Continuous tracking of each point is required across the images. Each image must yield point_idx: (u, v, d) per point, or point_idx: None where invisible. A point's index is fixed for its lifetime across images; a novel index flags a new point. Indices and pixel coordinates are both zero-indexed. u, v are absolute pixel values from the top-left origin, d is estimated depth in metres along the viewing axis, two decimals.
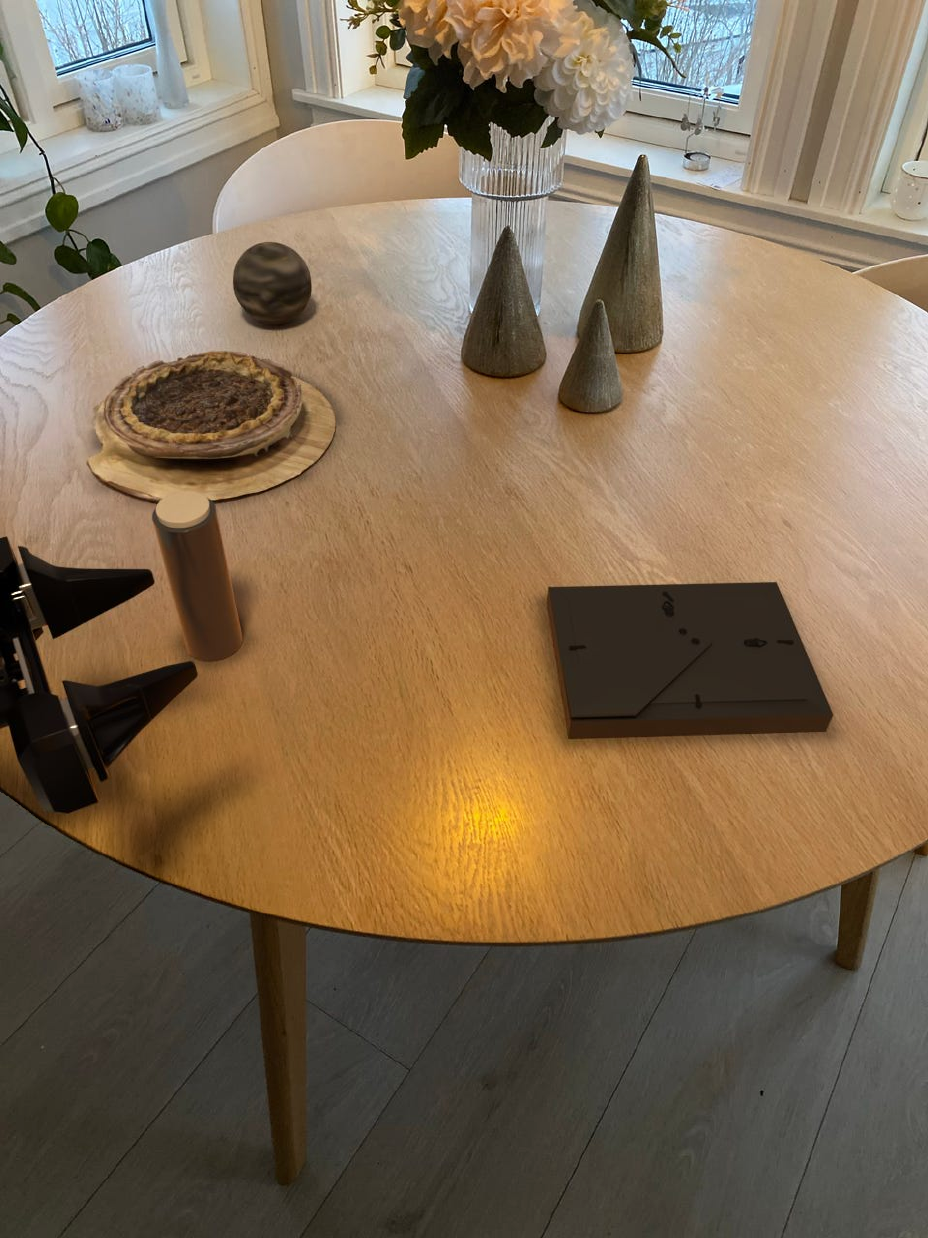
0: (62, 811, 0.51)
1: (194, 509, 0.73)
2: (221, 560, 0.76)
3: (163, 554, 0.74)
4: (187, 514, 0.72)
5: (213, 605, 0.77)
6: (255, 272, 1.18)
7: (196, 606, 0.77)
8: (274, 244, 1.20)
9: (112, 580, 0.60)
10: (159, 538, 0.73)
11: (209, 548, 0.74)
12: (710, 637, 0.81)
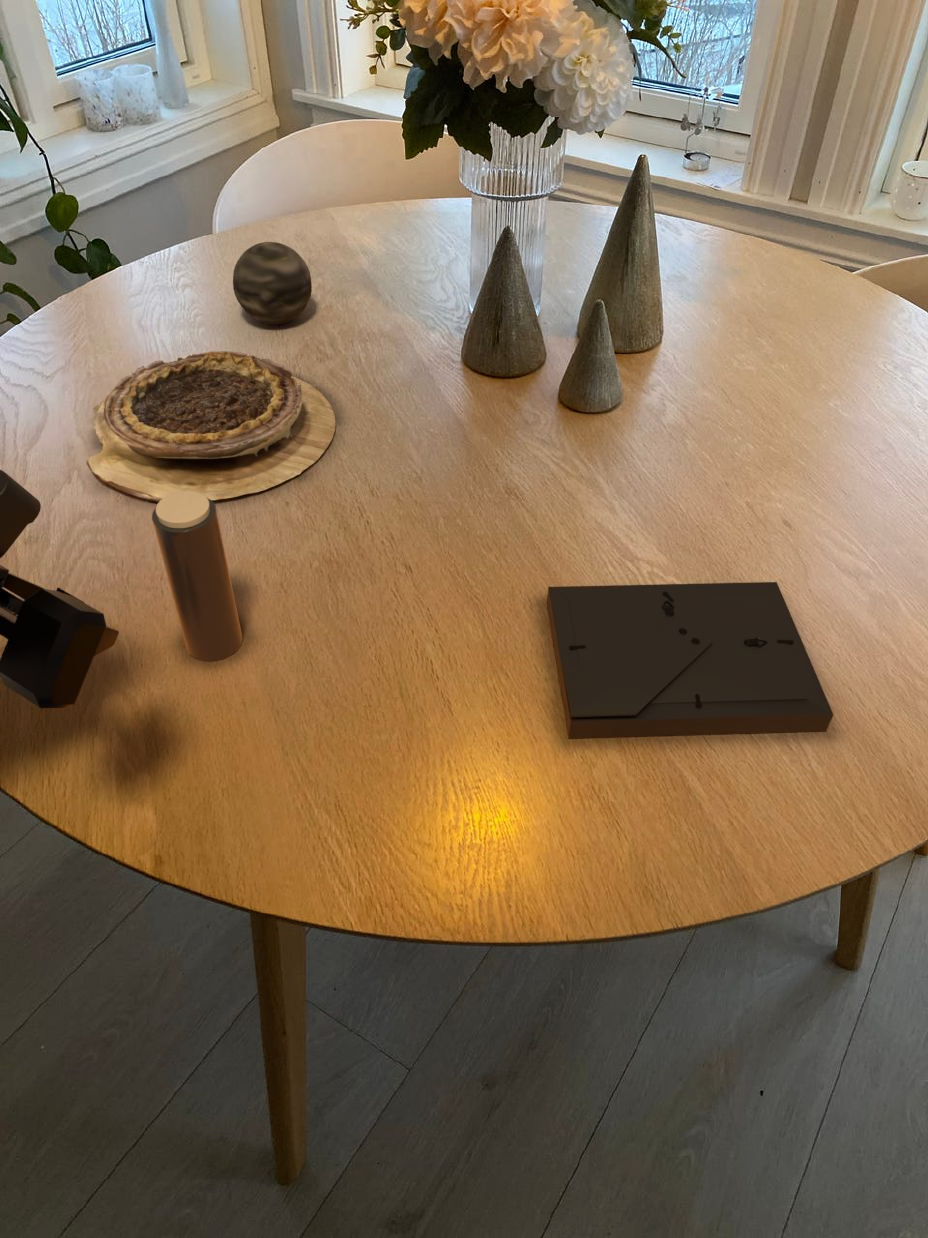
0: (52, 698, 0.55)
1: (194, 509, 0.73)
2: (221, 560, 0.76)
3: (163, 554, 0.74)
4: (187, 514, 0.72)
5: (213, 605, 0.77)
6: (255, 272, 1.18)
7: (196, 606, 0.77)
8: (274, 244, 1.20)
9: (20, 582, 0.66)
10: (159, 538, 0.73)
11: (209, 548, 0.74)
12: (710, 637, 0.81)
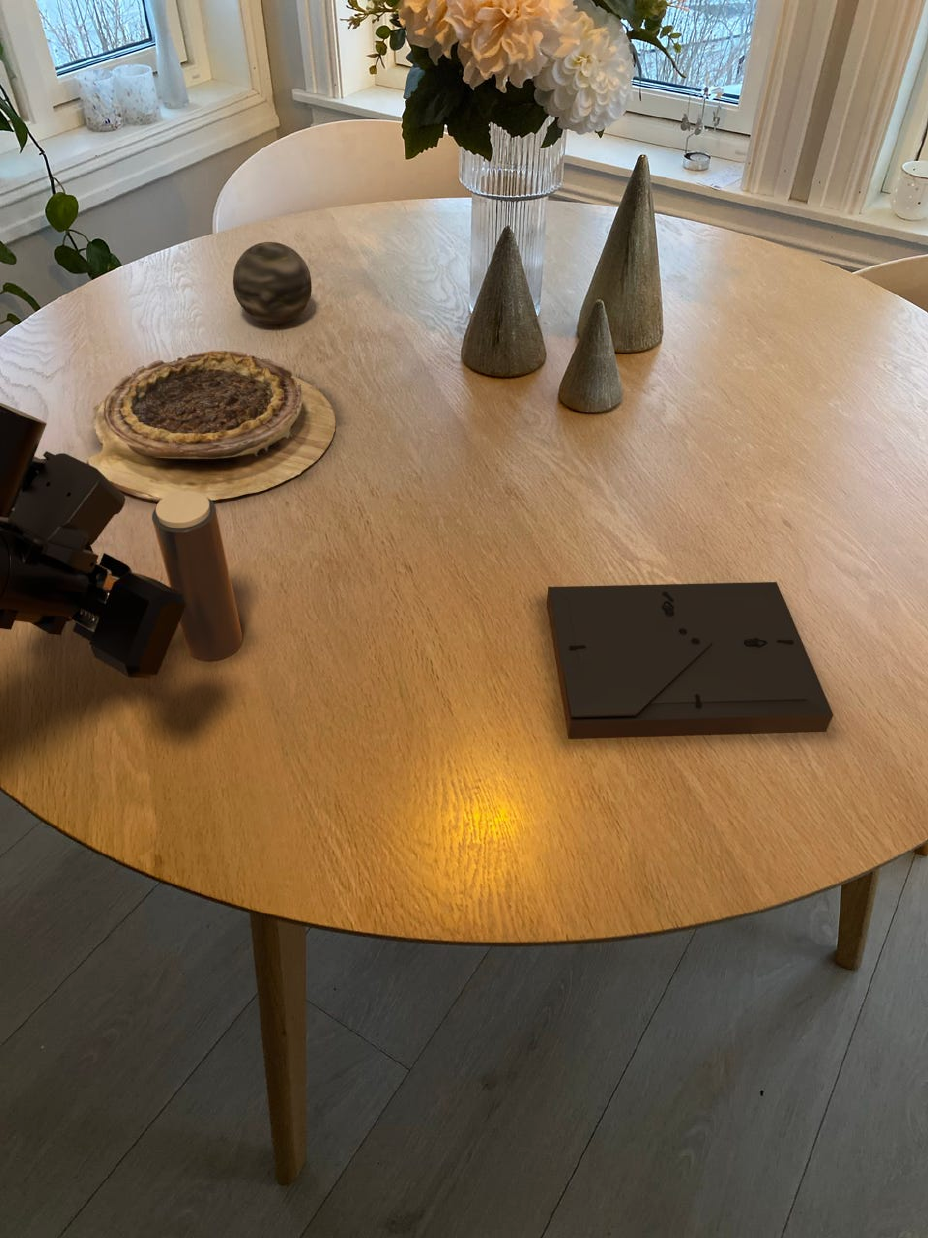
0: (140, 668, 0.62)
1: (194, 509, 0.73)
2: (221, 560, 0.76)
3: (163, 554, 0.74)
4: (187, 514, 0.72)
5: (213, 605, 0.77)
6: (255, 272, 1.18)
7: (196, 606, 0.77)
8: (274, 244, 1.20)
9: None
10: (159, 538, 0.73)
11: (209, 548, 0.74)
12: (710, 637, 0.81)
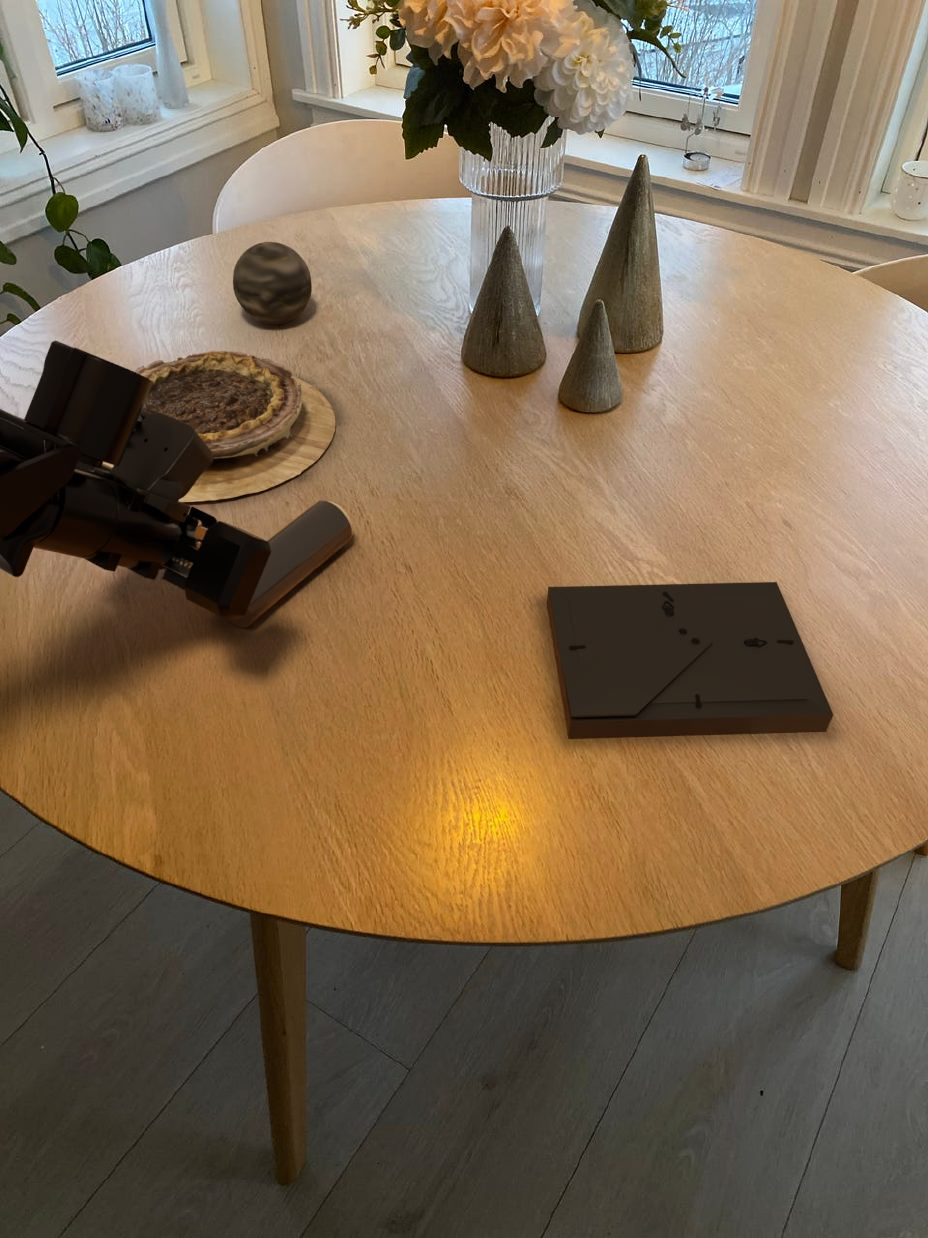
0: (231, 608, 0.68)
1: None
2: (323, 559, 0.88)
3: (304, 516, 0.88)
4: None
5: (294, 567, 0.85)
6: (255, 272, 1.18)
7: (287, 553, 0.85)
8: (274, 244, 1.20)
9: None
10: (316, 507, 0.89)
11: (336, 541, 0.89)
12: (710, 637, 0.81)
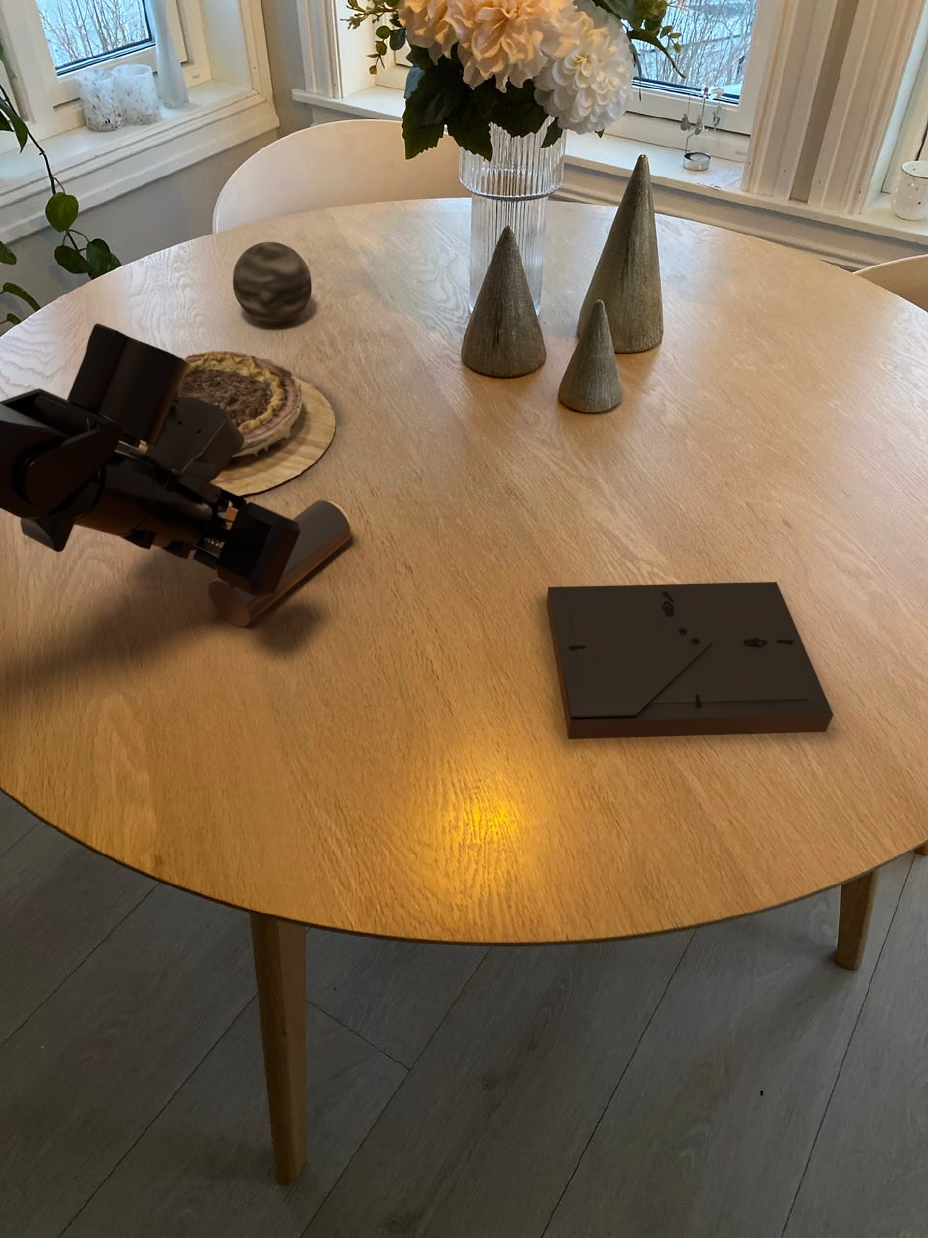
0: (262, 586, 0.70)
1: None
2: (322, 557, 0.88)
3: (302, 515, 0.89)
4: None
5: (292, 564, 0.85)
6: (255, 272, 1.18)
7: None
8: (274, 244, 1.20)
9: None
10: (313, 506, 0.90)
11: (335, 538, 0.89)
12: (710, 637, 0.81)
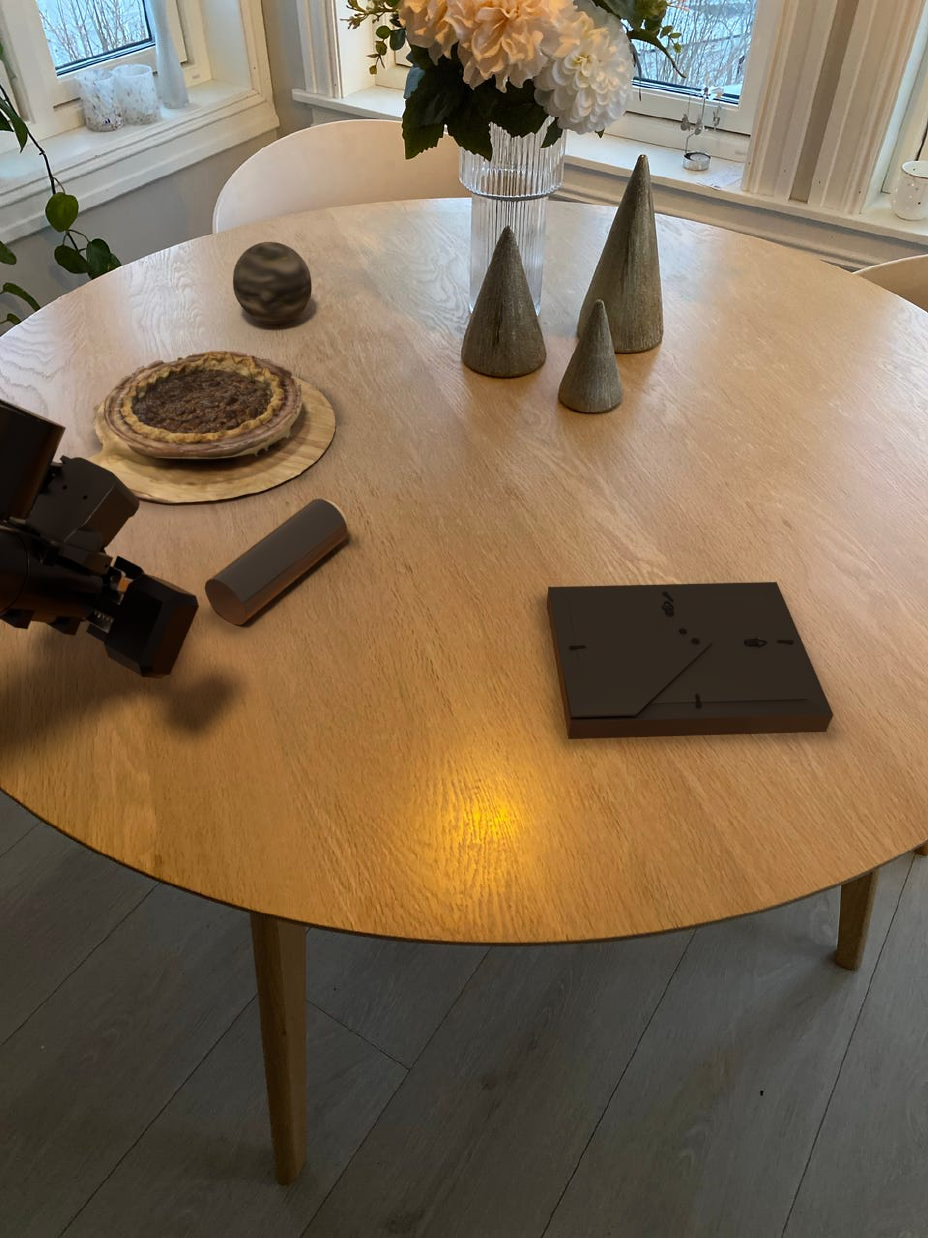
0: (153, 668, 0.63)
1: None
2: (319, 553, 0.88)
3: (296, 513, 0.89)
4: None
5: (286, 559, 0.85)
6: (255, 272, 1.18)
7: (278, 546, 0.85)
8: (274, 244, 1.20)
9: None
10: (307, 505, 0.90)
11: (330, 533, 0.89)
12: (710, 637, 0.81)
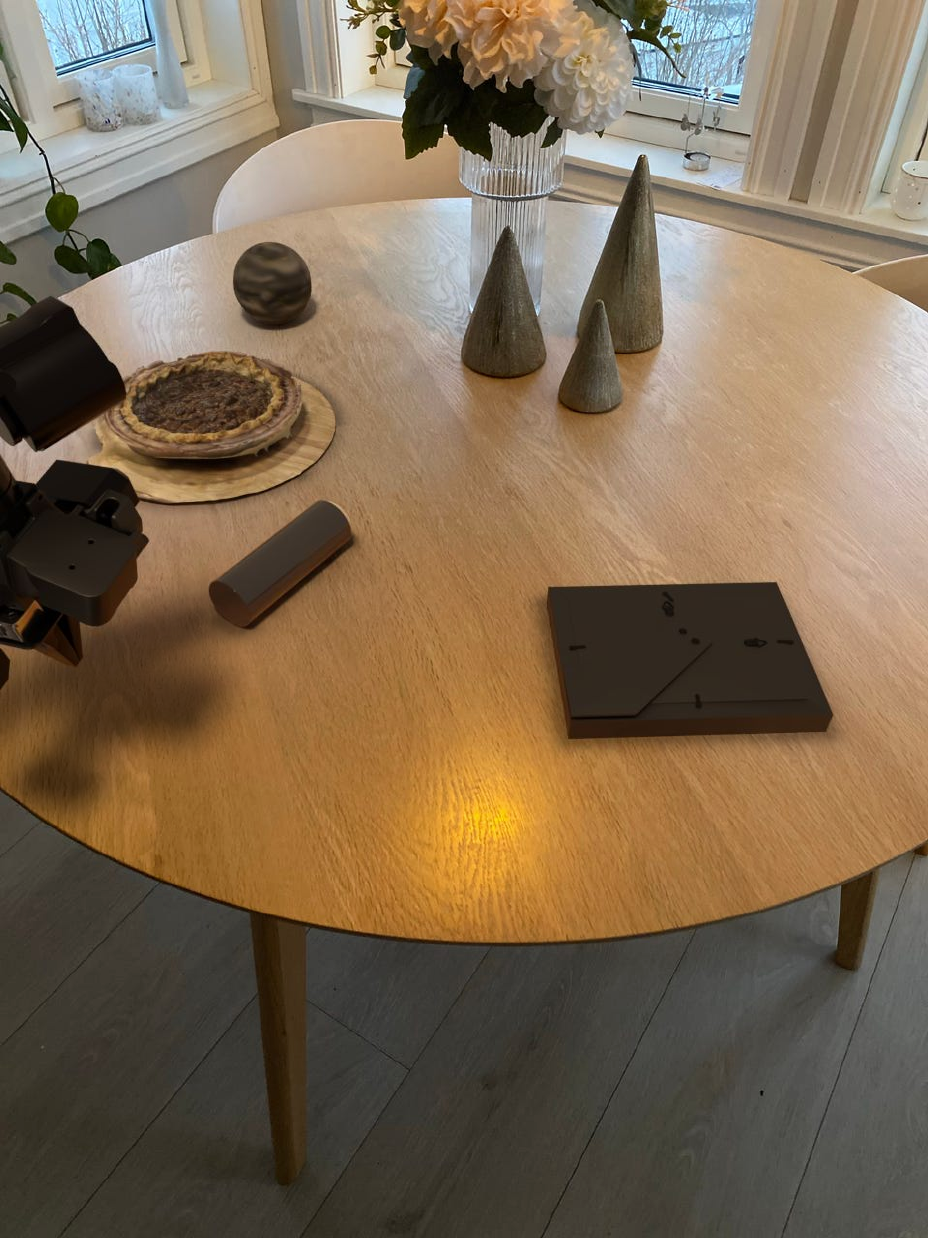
0: None
1: None
2: (322, 558, 0.88)
3: (303, 515, 0.89)
4: None
5: (293, 565, 0.85)
6: (255, 272, 1.18)
7: (286, 552, 0.85)
8: (274, 244, 1.20)
9: (69, 639, 0.63)
10: (314, 506, 0.89)
11: (335, 539, 0.89)
12: (710, 637, 0.81)
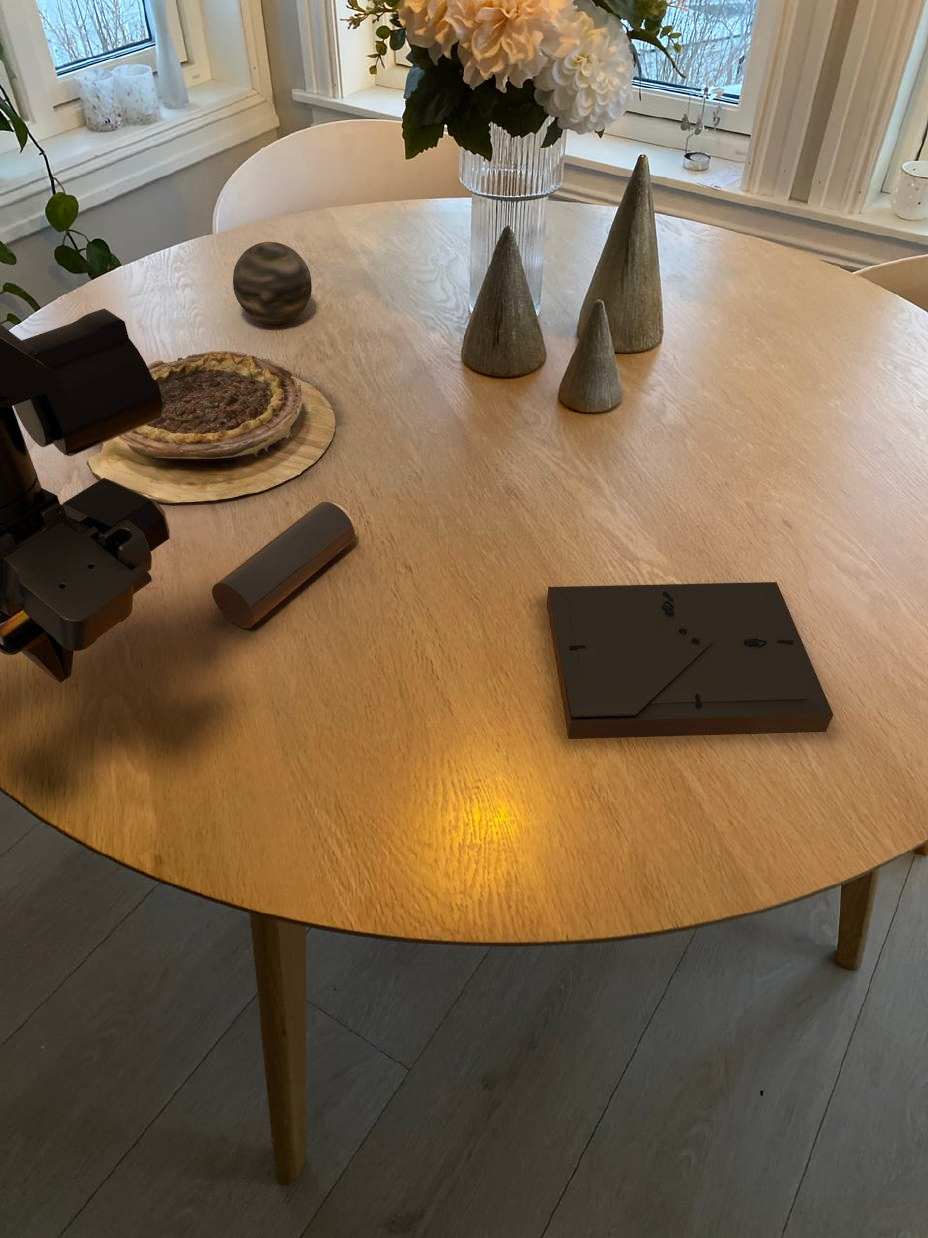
0: None
1: None
2: (325, 562, 0.89)
3: (309, 517, 0.88)
4: None
5: (298, 571, 0.85)
6: (255, 272, 1.18)
7: (293, 557, 0.85)
8: (274, 244, 1.20)
9: (59, 654, 0.62)
10: (321, 509, 0.89)
11: (339, 544, 0.89)
12: (710, 637, 0.81)
